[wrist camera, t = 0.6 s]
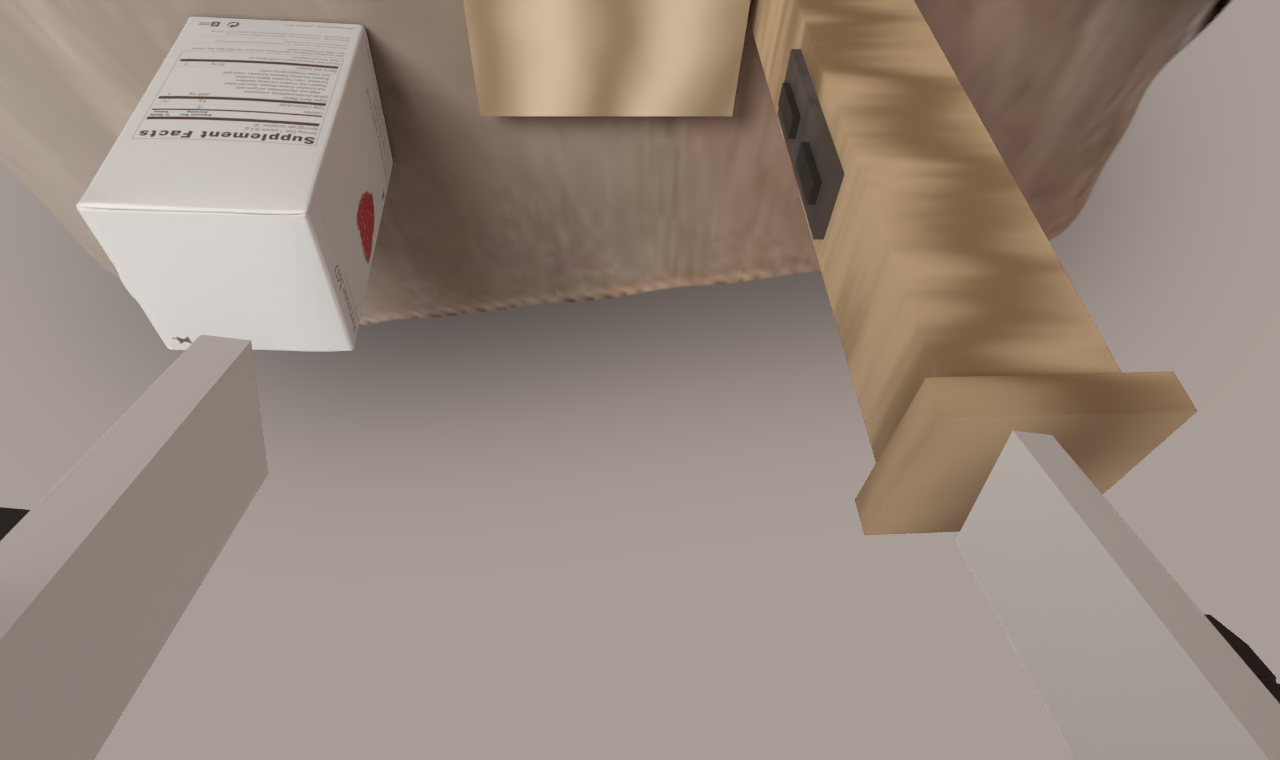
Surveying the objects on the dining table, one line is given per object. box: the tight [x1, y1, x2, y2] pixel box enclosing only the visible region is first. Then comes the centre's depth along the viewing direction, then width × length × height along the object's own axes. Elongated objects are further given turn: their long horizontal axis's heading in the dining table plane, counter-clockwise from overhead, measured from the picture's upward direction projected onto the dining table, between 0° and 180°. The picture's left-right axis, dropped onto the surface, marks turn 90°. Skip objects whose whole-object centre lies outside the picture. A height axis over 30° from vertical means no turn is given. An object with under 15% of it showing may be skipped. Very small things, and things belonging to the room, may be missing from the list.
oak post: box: [749, 0, 1197, 535], centre depth 29 cm, size 6×6×29 cm
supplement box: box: [77, 17, 393, 351], centre depth 37 cm, size 9×9×15 cm
